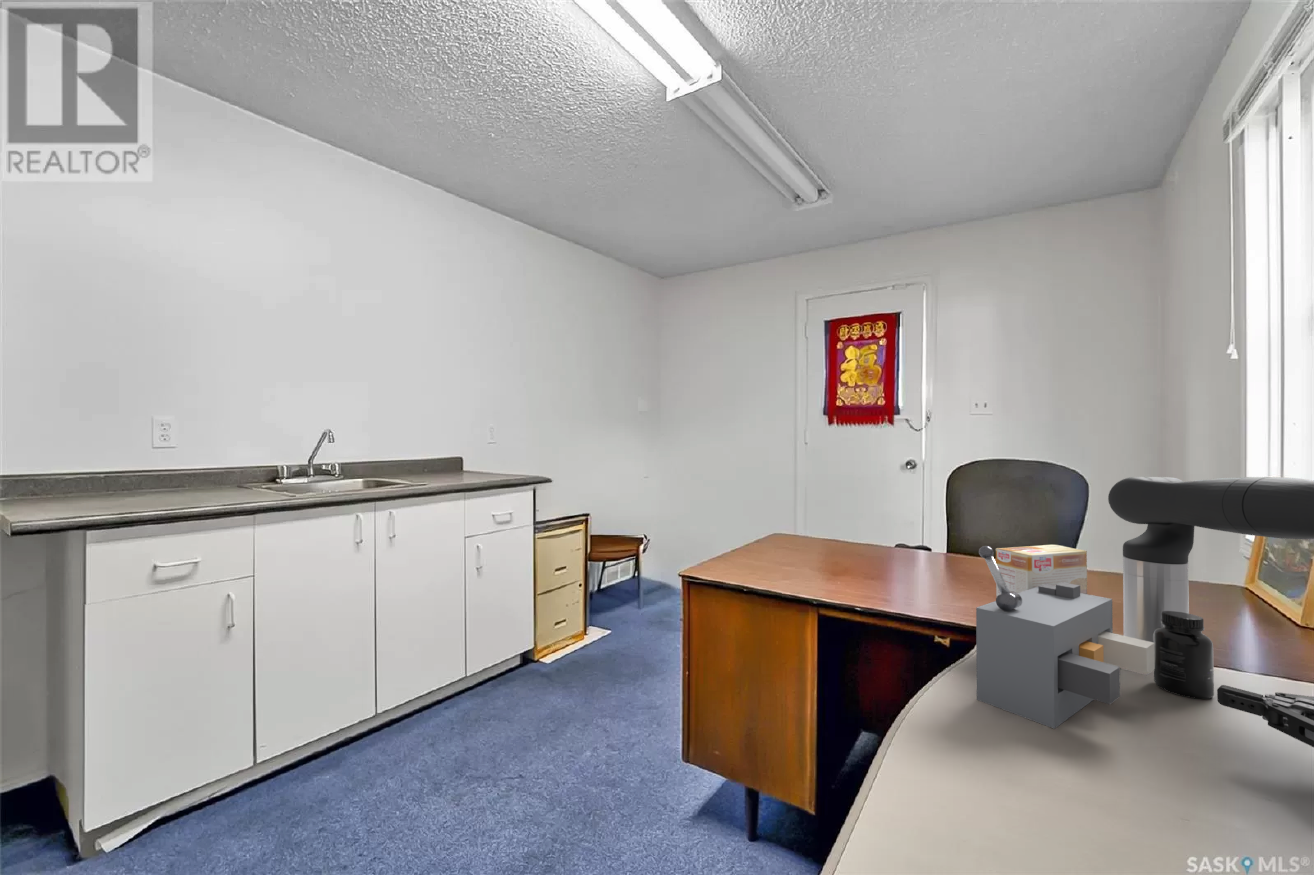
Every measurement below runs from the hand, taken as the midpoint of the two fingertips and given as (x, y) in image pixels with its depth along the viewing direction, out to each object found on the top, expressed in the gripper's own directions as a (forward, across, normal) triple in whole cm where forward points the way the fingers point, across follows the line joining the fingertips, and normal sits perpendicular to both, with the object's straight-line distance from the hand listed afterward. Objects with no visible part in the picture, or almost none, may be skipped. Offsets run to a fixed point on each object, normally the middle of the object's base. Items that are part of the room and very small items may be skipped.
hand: (1219, 693), depth 67 cm
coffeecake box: (+26, +19, -7) cm, 33 cm away
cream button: (+12, +8, -2) cm, 15 cm away
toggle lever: (+20, -9, +7) cm, 23 cm away
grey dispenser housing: (+19, 0, -7) cm, 20 cm away
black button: (+12, -8, -2) cm, 15 cm away
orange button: (+16, 0, -2) cm, 16 cm away
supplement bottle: (+7, +20, -7) cm, 22 cm away
